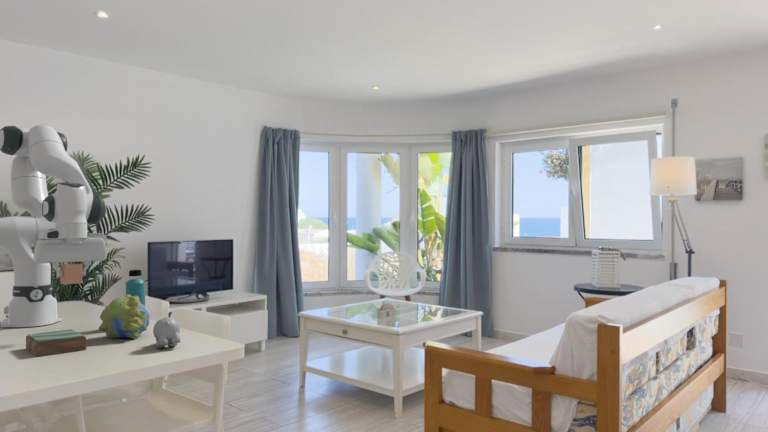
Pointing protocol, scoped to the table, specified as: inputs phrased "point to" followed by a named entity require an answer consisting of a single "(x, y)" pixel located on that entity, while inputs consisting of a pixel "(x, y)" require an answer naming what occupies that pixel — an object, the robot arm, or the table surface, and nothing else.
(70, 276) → the terracotta block
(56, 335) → the green lidded wooden box
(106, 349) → the table surface
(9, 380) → the table surface
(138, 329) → the earth globe model
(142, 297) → the beverage bottle
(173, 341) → the round bodied animal figurine
